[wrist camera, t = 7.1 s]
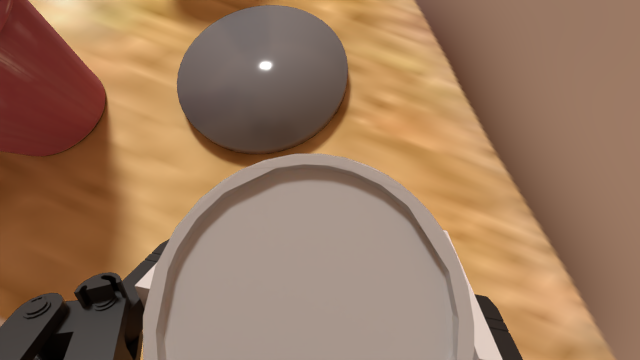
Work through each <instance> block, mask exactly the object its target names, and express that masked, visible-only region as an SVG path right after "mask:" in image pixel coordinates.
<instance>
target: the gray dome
mask: <svg viewBox="0 0 640 360" xmlns="http://www.w3.org/2000/svg"><path fill="white" fill-rule="evenodd" d="M347 73H348V65H347V57H346V54H345V50H344V48H343V45H342V43H341V41H340V40H339V38H338V37H337V35H336V34H335V32H334V31H333V30H332V29H331V28H330V27H329V26H328V25H327V24H326V23H324V22H323V21H322V20H320V19H319V18H317V17H316V16H314V15H312V14H310V13H308V12H306V11H303V10H300V9H297V8H292V7H288V6H279V5H265V6H256V7H250V8H246V9H243V10H239V11H236V12H234V13H231V14H229V15H227V16H225V17H223V18H221V19H219V20H217V21H216V22H214V23H213V24H211V25H210V26H209V27H207V28H206V29H205V30H204V31H203V32H202V33H201V34H200V35H199V36H198V37H197V38H196V39H195V40H194V41H193V43H192V44H191V45H190V47H189V48H188V50H187V52H186V53H185V55H184V57H183V60H182V62H181V64H180V68H179V72H178V78H177V93H178V98H179V102H180V105H181V107H182V110H183V112H184V113H185V115H186V117H187V118H188V120H189V121H190V122H191V123H192V125H193V126H194V127H195V128H196V129H197V130H198V131H199V132H201V133H202V134H203V135H204V136H205V137H206V138H207V139H209V140H210V141H212V142H213V143H215V144H217V145H219V146H221V147H223V148H225V149H229V150H232V151H235V152H240V153H246V154H267V153H274V152H279V151H283V150H286V149H289V148H292V147H295V146H297V145H299V144H301V143H303V142H305V141H307V140H308V139H310V138H311V137H313V136H314V135H316V134H317V133H318V132H319V131H321V130H322V129H323V128H324V127H325V126H326V125H327V124H328V123H329V122H330V121H331V119H332V118H333V116H334V115H335V114H336V112H337V111H338V109H339V107H340V105H341V103H342V100H343V98H344V95H345V91H346V86H347Z"/></svg>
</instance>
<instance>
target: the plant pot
mask: <svg viewBox="0 0 640 360" xmlns="http://www.w3.org/2000/svg"><path fill="white" fill-rule="evenodd" d="M104 106H105V91H104V87H103V85H102V83H101V81H100V80H99V79H98V77H97V76H96V75H95V74H94V73H93V72H92V71H91V70H90V69H89V68H88V67H87V66H86V65H85V64H84V62H83V61H82V60H81V59H80V58H79V57H78V56H77V54H76V53H75V52H74V51H73V50H72V49H71V48H70V46H69V45H68V44H67V43H66V42H65V41H64V40H63V39H62V37H61V36H60V35H59V34H58V33H57V32H56V31H55V30H54V29H53V27H52V26H51V25H50V24H49V23H48V22H47V21H46V20H45V19H44V17H43V16H42V15H41V14H40V13H39V12H38V11H37V10H36V9H35V8H34V6H33V5H32V4H31V3H30V2H29V1H28V0H0V151H3V152H10V153H17V154H24V155H29V156H48V155H52V154H56V153H59V152H62V151H64V150H67V149H69V148H70V147H72V146H74V145H75V144H77V143H78V142H80V141H81V140H82V139H83V138H85V137H86V136H87V135H88V134H89V133H90V132H91V131H92V130H93V128H94V127H95V126H96V124H97V122H98V121H99V119H100V117H101V115H102V113H103V110H104Z"/></svg>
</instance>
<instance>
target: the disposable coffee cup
mask: <svg viewBox="0 0 640 360" xmlns="http://www.w3.org/2000/svg"><path fill="white" fill-rule="evenodd" d="M473 356H474V319H473V313H472V307H471V301H470V295H469V289H468V285H467V282H466V279H465V277H464V274H463V271H462V268H461V266H460V263H459V260H458V257H457V255H456V253H455V251H454V249H453V247H452V245H451V243H450V241H449V239H448V238H447V236H446V234H445V232H444V231H443V229H442V228H441V227H440V225H439V224H438V222H437V221H436V220H435V218H434V217H433V216H432V214H431V213H430V211H429V210H428V209H427V208H426V207H425V206H424V205H423V204H422V203H421V202H420V201H419V200H418V199H417V198H416V197H415V196H414V195H413V194H412V193H411V192H410V191H408V190H407V189H406V188H405V187H403V186H402V185H401V184H400V183H398V182H397V181H395V180H394V179H392V178H391V177H389V176H388V175H386V174H384V173H382V172H380V171H378V170H376V169H375V168H373V167H370V166H368V165H365V164H362V163H360V162H357V161H354V160H351V159H348V158H345V157H338V156H332V155H326V154H291V155H287V156H282V157H277V158H272V159H268V160H263V161H261V162H258V163H256V164H254V165H251V166H249V167H246V168H244V169H241V170H240V171H238V172H236V173H235V174H233V175H231V176H229V177H228V178H226V179H224V180H223V181H222V182H220V183H219V184H218V185H216V186H215V187H214V188H213V189H211V190H210V191H209V192H208V193H206V194H205V195H204V196H203V197H201V198H200V199H199V201H198V202H197V203H196V204H195V205H194V207H193V208H192V209H191V210H190V211H189V212H188V214H187V215H186V216H185V217H184V218H183V220H182V221H181V222H180V223H179V224H178V225H177V227H176V228H175V230H174V232H173V234H172V236H171V238H170V240H169V242H168V243H167V245H166V247H165V249H164V251H163V253H162V255H161V257H160V259H159V260H158V262H157V264H156V266H155V270H154V274H153V278H152V282H151V286H150V290H149V294H148V298H147V302H146V306H145V310H144V314H143V360H473Z"/></svg>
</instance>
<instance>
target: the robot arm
mask: <svg viewBox="0 0 640 360" xmlns="http://www.w3.org/2000/svg"><path fill="white" fill-rule="evenodd" d="M443 231H444V232H445V234H446V236H447V238H448V239H449V241H450V243H451V245H452V247H453V249H454V246H453V244H452V242H451V239H450V237H449V235H448V232H447V231H445V230H443ZM169 240H170V239H169ZM169 240H167V241H165V242H163V243H162V244H160V245H159V246H158V247H157V248H156V249H155V250H154V251H153V252H152V254H150V255H149V256H148V257H147V258H146V259H145V261H143V262H142V263H140V264H139V265H138V266H137V267H136V268H135V269H134V270H133V271H132V272H131V273H130V274H129V275H128V276H127V277H126V278H125V279H124V280H123V281H122V280H121V278H120V276H119V275H117V274H116V273H111V272H109V273H102V274H99V275H96V276H93V277H91V278H89V279H87V280H86V281H84V282H83V283H82V284H81V285H80V286H78V288H77V289H76V291H75V292H74V294H75V295H76V297H77V299H78V300H76V301H66V302H65V300H64V299H63V297H62V296H61V295H59V294H58V293H48V294H43V295H40V296H38V297H35V298H33V299H31V300H29V301H27V302H26V303H24V304H22V305H21V306H20V307H19V308H18V309H17V310H16V311H15V312H14V313H13V314H12V315H11V316H10V317H9V318H8V319H7V320H6V322H5V323H4V324H3V325H2V326H1V327H0V360H140V357H141V349H142V342H143V331H142V330H143V314H144V310H145V306H146V302H147V298H148V294H149V290H150V286H151V282H152V278H153V274H154V270H155V266H156V264H157V262H158V260H159V259H160V257H161V255H162V253H163V251H164V249H165V247H166V245H167V243H168V242H169ZM454 251H455V249H454ZM455 253H456V251H455ZM456 255H457V253H456ZM457 257H458V255H457ZM458 260H459V258H458ZM459 263H460V266H461V268H462V271H463V274H464V277H465V279H466V282H467V285H468V289H469V295H470V301H471V307H472V313H473V319H474V356H473V360H523V359H522V357H521V355H520V353H519V351H518V349H517V347H516V345H515V343H514V341H513V339H512V337H511V335H510V333H509V332H508V329H507V327H506V325H505V323H504V322H503V319H502V317H501V315H500V313H499V311H498V309H497V307H496V306H495V305H494V304H493V303H492V302H491V300H490V299H489V298H488V297H486V296H481V295H476V294H474V292H473V290H472V288H471V286H470V283H469V281H468V279H467V276H466V274H465V272H464V269H463V267H462V265H461V262H460V260H459Z"/></svg>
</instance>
